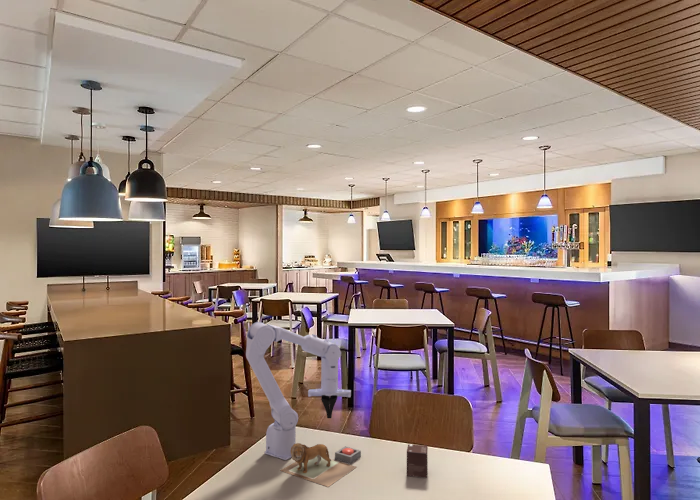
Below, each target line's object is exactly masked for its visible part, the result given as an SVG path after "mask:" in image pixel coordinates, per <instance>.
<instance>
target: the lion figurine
mask: <svg viewBox="0 0 700 500" xmlns="http://www.w3.org/2000/svg"><path fill="white" fill-rule="evenodd" d="M291 456H292V457H291V459H292V460H293V461H294V462H297V463H299V467H298V468H297V470H301V468H302V462H303V463H304V470H303V473H307V463H308V460H312V459H314V458H315V457H318V461H317V462H315V463H314V464H315V465H318V464H319V462H320V461H321V457H322V458H323V459H324V460H326V461H328V463H327V464H326V466H327V467H329V466H330V461H331V458H330V453H329V449H328V447H327V446H326V445H324V444H322V443H318V444H316V445H313V446H307V445H305V444H302V443H299V442H297V443H296V444H294V445H293V446H292V447H291Z"/></svg>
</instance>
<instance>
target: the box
mask: <svg viewBox="0 0 700 500" xmlns="http://www.w3.org/2000/svg"><path fill="white" fill-rule="evenodd" d="M428 459H429V458H428V445H426V444H425V445H424V444H414V443H413V444H410V443H408V444H407V449H406V476H407V477H413V478H424V479H425V478H427V477H428V470H429V469H428V467H429V466H428V461H429V460H428Z"/></svg>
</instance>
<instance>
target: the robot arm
mask: <svg viewBox="0 0 700 500" xmlns="http://www.w3.org/2000/svg"><path fill="white" fill-rule="evenodd" d="M281 340H282V341H286V342H288V343H291V344H295V345H298V346H300V347H301V350H302V351H303V352H305V353H309V354H311V355H315V356H317V357H320V358H321V364H320V365H321V371H320V372H321V379H320V380H321V381H320V383H321V386H320V388H315V389H314V388H313V389H311V388H310V389H308V391H307V396H308V398H310V397H321V399H320V400H321V403H322V405H323V407H324V409H325V413H326V418H327V419H332V416H333V410H334V408H335V407H334V406H335V405H336V402H337V400H338V397H344V398H345V397H346V398H351V396H352V390H351V389H342V388H339V360H340V358H341V356H342V351H341V349H340V347H339V345H337V344H336V343H333V342H330V341H329V340H328V339H326V338H325V339H323V338H320V337H318V335H317V334H314V333H312V334H307V335H304V336H303V335H301V334H298V333H296V332H294V331H290V330H288V329H286V328H283V327H281V326H278V325H273V324H270V323H266V324H265V323H264V322H262V321H256V322H254V323H252V324H251V325H250V327H249V328H248V330H247V333H246V350H245V357H246V360H247V361H248V364H249V365H250V367H251V369H252V371H253V373H254V375H255V377H256V379H257V380H258V383H259V385H260V387H261V388H262V391H263V393H264V394H265V396H266V398H267V401H268V402H269V406H270V410H271V413H270V414H271V417H272V418H273V420H274V422H273V423H271V424H270V425H268V426H267V429H266V434H265V451H264V454H265V455H267V456H271V457H274V458H277V459H281V460H283V461H286V460H289V459H292V456H291V447H292V446H293V445H294V444H297V443H296V441H297V440H296V437H297V435H296V430H297V429H296V425H298V422H299V415H298V412H297V411H296V410H294V409H293V408H292V406H291V405H290V403H289V402H288V401H287V399H286V398H285V396H284V394H283V392H282V391H281V388H280V386H279V384H278V382H277V381H276V379H275V377H274V375H273V373H272V371H271V369H270V367H269V364H268V363H267V360H266V359H265V354H266V352H267V350H268V348H270V346H271V345H272V343H273V342H275V343H277V342H279V341H281Z"/></svg>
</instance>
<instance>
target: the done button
mask: <svg viewBox="0 0 700 500" xmlns="http://www.w3.org/2000/svg"><path fill="white" fill-rule="evenodd" d="M351 448H352V447H350V448H345V449H343V450H342V453H343V454H346V455H352V454H353V453H354V450H353V449H351Z"/></svg>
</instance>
